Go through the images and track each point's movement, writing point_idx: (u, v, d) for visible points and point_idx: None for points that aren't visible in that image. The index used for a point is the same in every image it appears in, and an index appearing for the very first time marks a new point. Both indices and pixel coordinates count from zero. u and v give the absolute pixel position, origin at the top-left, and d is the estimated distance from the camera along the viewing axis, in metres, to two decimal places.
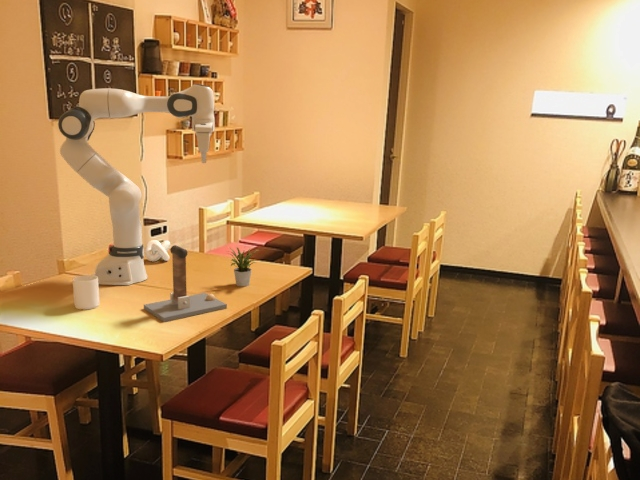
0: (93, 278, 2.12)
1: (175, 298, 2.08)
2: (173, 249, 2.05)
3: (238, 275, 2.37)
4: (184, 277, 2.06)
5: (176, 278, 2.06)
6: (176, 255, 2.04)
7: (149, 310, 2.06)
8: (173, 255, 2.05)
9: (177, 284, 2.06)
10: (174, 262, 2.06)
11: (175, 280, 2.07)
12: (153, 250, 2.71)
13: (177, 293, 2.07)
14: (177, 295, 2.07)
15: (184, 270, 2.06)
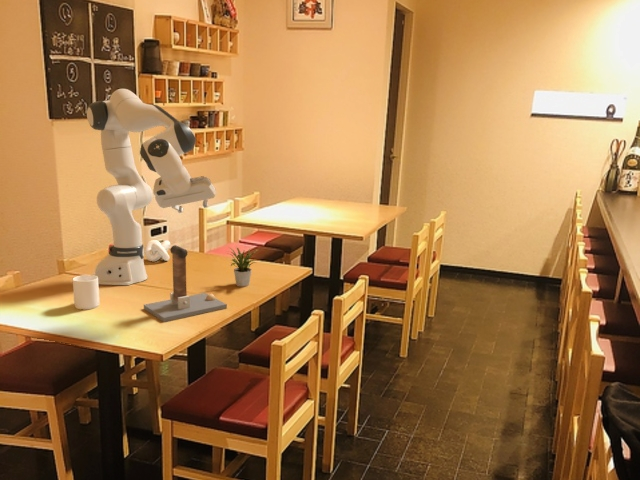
0: (93, 278, 2.12)
1: (175, 298, 2.08)
2: (173, 249, 2.05)
3: (238, 275, 2.37)
4: (184, 277, 2.06)
5: (176, 278, 2.06)
6: (176, 255, 2.04)
7: (149, 310, 2.06)
8: (173, 255, 2.05)
9: (177, 284, 2.06)
10: (174, 262, 2.06)
11: (175, 280, 2.07)
12: (153, 250, 2.71)
13: (177, 293, 2.07)
14: (177, 295, 2.07)
15: (184, 270, 2.06)
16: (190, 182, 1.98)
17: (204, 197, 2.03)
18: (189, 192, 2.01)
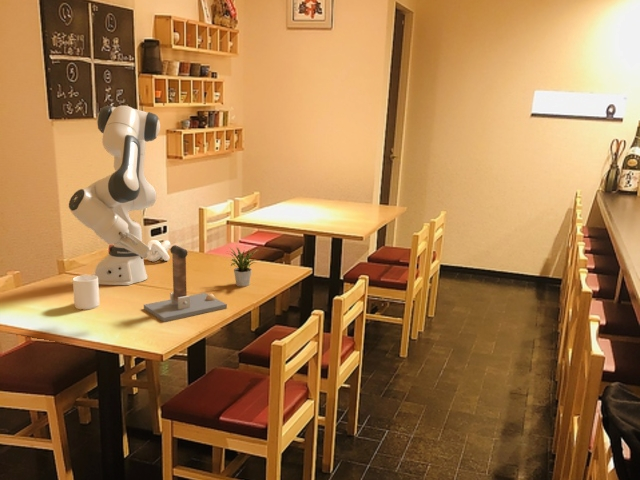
0: (93, 278, 2.12)
1: (175, 298, 2.08)
2: (173, 249, 2.05)
3: (238, 275, 2.37)
4: (184, 277, 2.06)
5: (176, 278, 2.06)
6: (176, 255, 2.04)
7: (149, 310, 2.06)
8: (173, 255, 2.05)
9: (177, 284, 2.06)
10: (174, 262, 2.06)
11: (175, 280, 2.07)
12: (153, 250, 2.71)
13: (177, 293, 2.07)
14: (177, 295, 2.07)
15: (184, 270, 2.06)
16: (118, 236, 1.86)
17: (136, 253, 1.89)
18: (124, 244, 1.90)
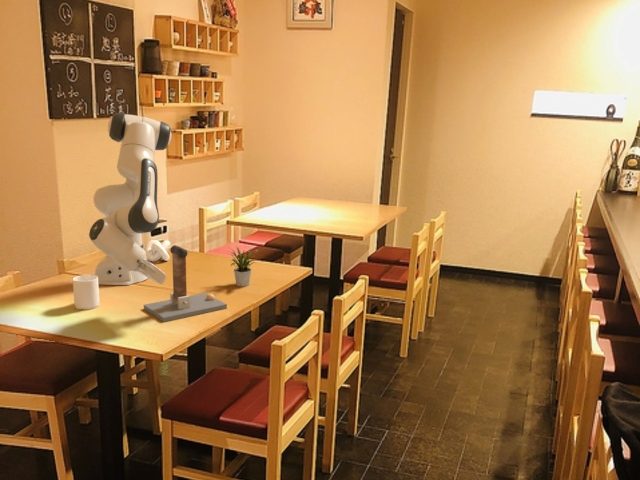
0: (93, 278, 2.12)
1: (175, 298, 2.08)
2: (173, 249, 2.05)
3: (238, 275, 2.37)
4: (184, 277, 2.06)
5: (176, 278, 2.06)
6: (176, 255, 2.04)
7: (149, 310, 2.06)
8: (173, 255, 2.05)
9: (177, 284, 2.06)
10: (174, 262, 2.06)
11: (175, 280, 2.07)
12: (153, 250, 2.71)
13: (177, 293, 2.07)
14: (177, 295, 2.07)
15: (184, 270, 2.06)
16: (136, 264, 1.92)
17: (153, 280, 1.94)
18: None
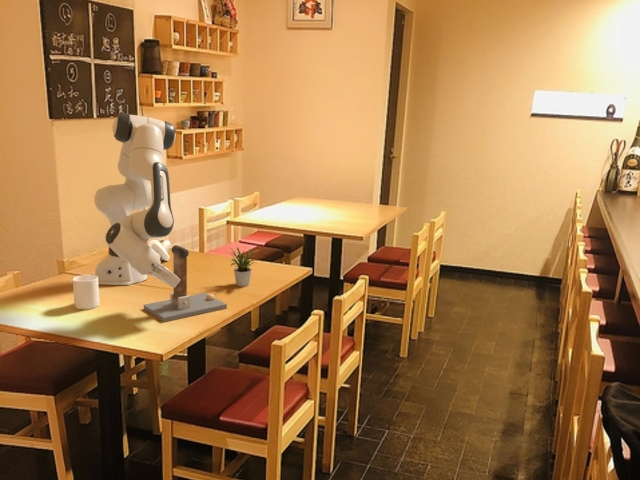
0: (93, 278, 2.12)
1: (175, 298, 2.08)
2: (174, 249, 2.06)
3: (238, 275, 2.37)
4: (185, 277, 2.06)
5: None
6: (177, 255, 2.04)
7: (149, 310, 2.06)
8: (174, 255, 2.06)
9: (177, 284, 2.06)
10: (175, 262, 2.06)
11: None
12: None
13: (177, 293, 2.07)
14: (177, 295, 2.07)
15: (185, 270, 2.06)
16: (151, 267, 1.95)
17: (167, 283, 1.98)
18: (155, 274, 1.99)
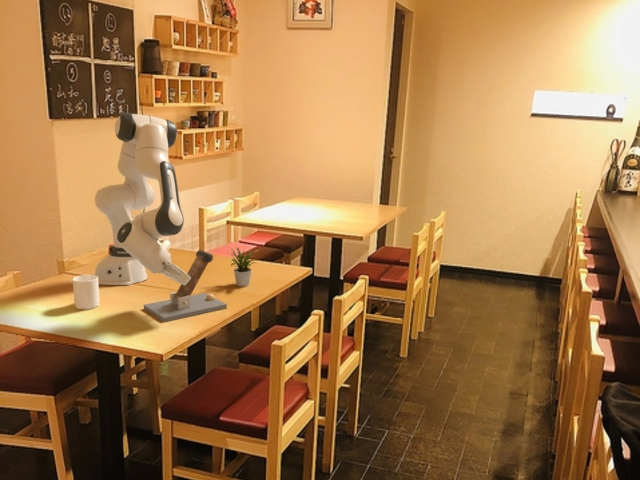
0: (93, 278, 2.12)
1: (177, 296, 2.09)
2: (200, 252, 2.12)
3: (238, 275, 2.37)
4: (196, 280, 2.10)
5: None
6: (201, 257, 2.10)
7: (149, 310, 2.06)
8: (198, 257, 2.12)
9: (187, 283, 2.08)
10: (195, 263, 2.11)
11: None
12: None
13: (182, 291, 2.08)
14: (181, 293, 2.08)
15: (200, 274, 2.10)
16: (162, 266, 1.98)
17: (178, 282, 2.00)
18: None
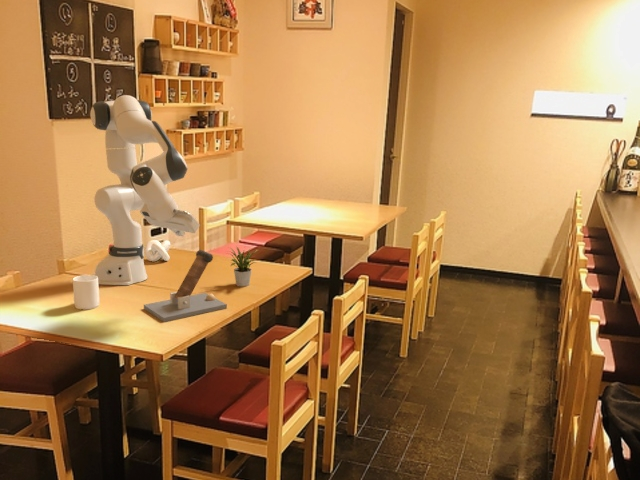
0: (93, 278, 2.12)
1: (177, 296, 2.09)
2: (200, 252, 2.12)
3: (238, 275, 2.37)
4: (196, 280, 2.10)
5: (188, 277, 2.09)
6: (201, 257, 2.10)
7: (149, 310, 2.06)
8: (198, 257, 2.12)
9: (187, 283, 2.08)
10: (195, 263, 2.11)
11: (187, 279, 2.10)
12: (153, 250, 2.71)
13: (182, 291, 2.08)
14: (181, 293, 2.08)
15: (200, 274, 2.10)
16: (172, 213, 1.98)
17: (185, 230, 2.02)
18: (172, 221, 2.01)
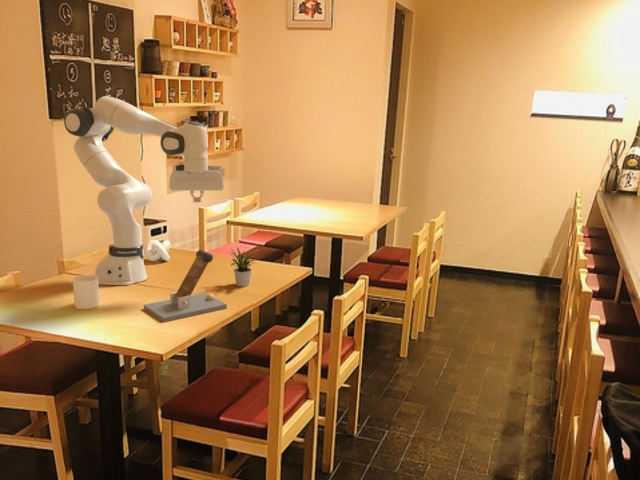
0: (93, 278, 2.12)
1: (177, 296, 2.09)
2: (200, 252, 2.12)
3: (238, 275, 2.37)
4: (196, 280, 2.10)
5: (188, 277, 2.09)
6: (201, 257, 2.10)
7: (149, 310, 2.06)
8: (198, 257, 2.12)
9: (187, 283, 2.08)
10: (195, 263, 2.11)
11: (187, 279, 2.10)
12: (153, 250, 2.71)
13: (182, 291, 2.08)
14: (181, 293, 2.08)
15: (200, 274, 2.10)
16: (208, 167, 2.24)
17: (214, 187, 2.26)
18: (203, 178, 2.24)
